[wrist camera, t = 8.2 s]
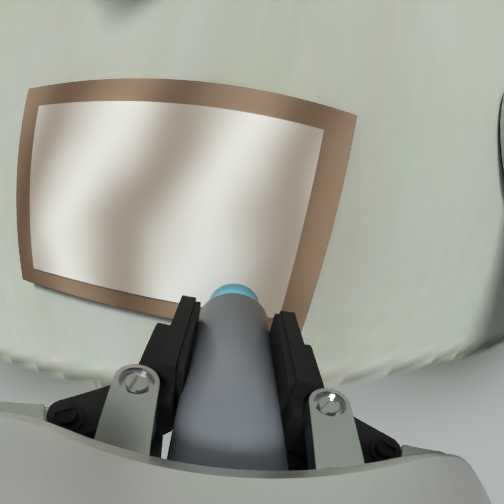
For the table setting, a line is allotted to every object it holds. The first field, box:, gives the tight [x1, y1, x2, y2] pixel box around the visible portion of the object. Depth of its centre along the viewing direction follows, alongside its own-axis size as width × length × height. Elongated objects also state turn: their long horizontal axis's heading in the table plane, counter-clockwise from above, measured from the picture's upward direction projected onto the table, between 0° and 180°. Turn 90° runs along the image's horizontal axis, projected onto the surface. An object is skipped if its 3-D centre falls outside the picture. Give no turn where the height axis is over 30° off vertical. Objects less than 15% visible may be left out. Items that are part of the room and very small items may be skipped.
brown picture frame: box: [16, 79, 357, 332], centre depth 13 cm, size 18×12×1 cm, turn 79°
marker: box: [167, 284, 288, 471], centre depth 8 cm, size 3×3×12 cm
